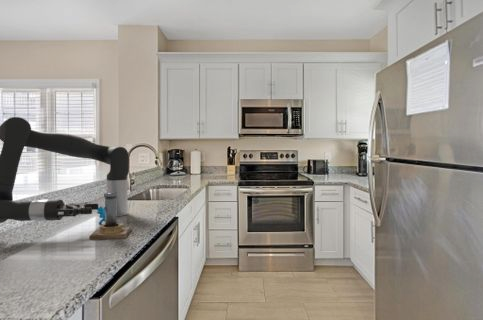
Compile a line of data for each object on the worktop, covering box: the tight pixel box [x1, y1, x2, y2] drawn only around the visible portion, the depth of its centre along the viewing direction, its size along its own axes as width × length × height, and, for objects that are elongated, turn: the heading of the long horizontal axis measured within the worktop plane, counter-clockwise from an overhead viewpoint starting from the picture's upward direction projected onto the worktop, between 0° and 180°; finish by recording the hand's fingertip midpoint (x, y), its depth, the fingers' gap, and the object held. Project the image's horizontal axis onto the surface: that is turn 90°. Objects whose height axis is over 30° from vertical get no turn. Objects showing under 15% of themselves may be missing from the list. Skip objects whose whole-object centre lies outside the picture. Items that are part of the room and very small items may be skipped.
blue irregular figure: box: [96, 205, 119, 225], centre depth 134 cm, size 11×6×10 cm
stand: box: [89, 222, 132, 241], centre depth 117 cm, size 12×12×4 cm
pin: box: [103, 192, 118, 227], centre depth 117 cm, size 5×5×14 cm
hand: (95, 208), depth 115 cm, fingers open, 8 cm apart
